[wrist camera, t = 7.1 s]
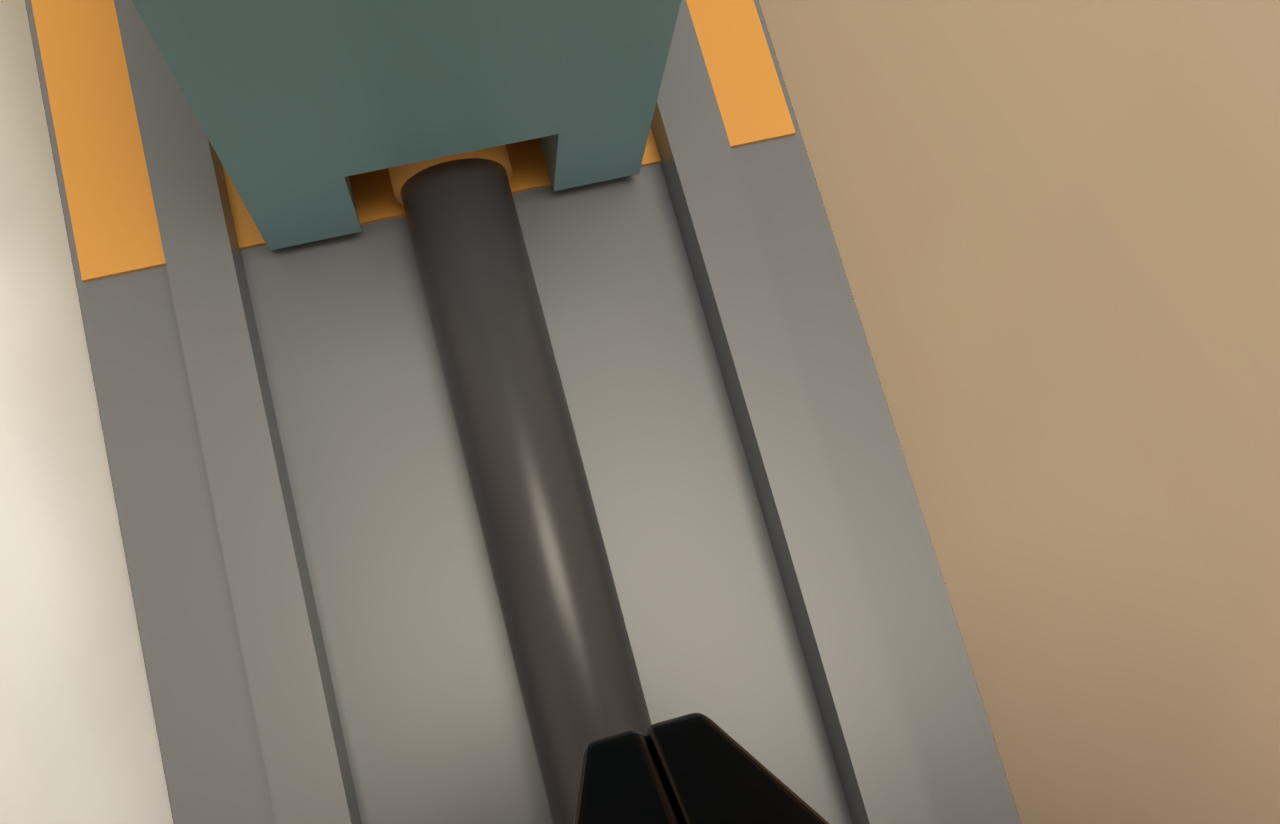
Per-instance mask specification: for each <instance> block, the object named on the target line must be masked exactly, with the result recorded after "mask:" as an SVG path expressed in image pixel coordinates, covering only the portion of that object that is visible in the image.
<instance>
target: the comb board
mask: <svg viewBox="0 0 1280 824" xmlns="http://www.w3.org/2000/svg"><path fill="white" fill-rule="evenodd" d="M25 3H26V9H27V14H28V20H29V26H30V31H31V37H32V42H33V48H34V53H35V59H36V64H37V70H38V75H39V81H40V86H41V92H42V98H43V103H44V109H45V114H46V120H47V125H48V131H49V136H50V142H51V147H52V153H53V158H54V164H55V169H56V175H57V181H58V186H59V192H60V197H61V203H62V208H63V214H64V219H65V225H66V230H67V236H68V241H69V247H70V253H71V258H72V264H73V269H74V275H75V280H76V286H77V291H78V297H79V302H80V308H81V313H82V319H83V324H84V330H85V336H86V341H87V347H88V352H89V358H90V363H91V369H92V374H93V380H94V385H95V391H96V396H97V402H98V408H99V413H100V419H101V424H102V430H103V435H104V441H105V446H106V452H107V457H108V463H109V468H110V474H111V479H112V485H113V491H114V496H115V502H116V507H117V513H118V518H119V524H120V529H121V535H122V540H123V546H124V551H125V557H126V563H127V568H128V574H129V579H130V585H131V590H132V596H133V601H134V607H135V612H136V618H137V623H138V629H139V634H140V640H141V646H142V651H143V657H144V662H145V668H146V673H147V679H148V684H149V690H150V695H151V701H152V706H153V712H154V718H155V723H156V729H157V734H158V740H159V745H160V751H161V756H162V762H163V767H164V773H165V778H166V784H167V789H168V795H169V801H170V806H171V812H172V817H173V823H174V824H573V819H574V812H575V805H576V798H577V790H578V783H579V776H580V769H581V762H582V755H583V751H584V749H585V747H586V746H587V745H588V744H589V743H590V742H592V741H595V740H599V739H602V738H606V737H609V736H613V735H616V734H620V733H623V732H627V731H630V730H638V731H640V732H642V733H643V734H644V736H645V734H646V730H647V729H648V728H649V727H650V726H651V725H653V724H655V723H658V722H662V721H665V720H669V719H672V718H676V717H680V716H683V715H687V714H690V713H701V714H704V715H706V716H707V717H708V718H710V719H711V720H712V721H714V722H715V723H716V724H717V725H718V726H719V727H720V728H721V729H723V730H724V731H725V732H726V733H727V734H728V735H729V736H731V737H732V738H733V739H734V740H735V741H736V742H737V743H739V744H740V745H741V746H742V747H743V748H744V749H745V750H747V751H748V752H749V753H750V754H751V755H752V756H753V757H755V758H756V759H757V760H758V761H759V762H760V763H761V764H762V765H764V766H765V767H766V768H767V769H768V770H769V771H770V772H772V773H773V774H774V775H775V776H776V777H777V778H778V779H780V780H781V781H782V782H783V783H784V784H785V785H786V786H788V787H789V788H790V789H791V790H792V791H793V792H794V793H796V794H797V795H798V796H799V797H800V798H801V799H802V800H804V801H805V802H806V803H807V804H808V805H809V806H810V807H811V808H813V809H814V810H815V811H816V812H817V813H818V814H819V815H821V816H822V817H823V818H824V819H825V820H826V821H827V822H829V823H830V824H1021V821H1020V818H1019V815H1018V812H1017V809H1016V806H1015V803H1014V799H1013V796H1012V793H1011V790H1010V787H1009V784H1008V781H1007V778H1006V774H1005V771H1004V768H1003V765H1002V762H1001V759H1000V756H999V753H998V749H997V746H996V743H995V740H994V737H993V734H992V731H991V727H990V724H989V721H988V718H987V715H986V712H985V709H984V706H983V702H982V699H981V696H980V693H979V690H978V687H977V684H976V680H975V677H974V674H973V671H972V668H971V665H970V662H969V659H968V655H967V652H966V649H965V646H964V643H963V640H962V637H961V634H960V630H959V627H958V624H957V621H956V618H955V615H954V612H953V608H952V605H951V602H950V599H949V596H948V593H947V590H946V587H945V583H944V580H943V577H942V574H941V571H940V568H939V565H938V561H937V558H936V555H935V552H934V549H933V546H932V543H931V540H930V536H929V533H928V530H927V527H926V524H925V521H924V518H923V514H922V511H921V508H920V505H919V502H918V499H917V496H916V493H915V489H914V486H913V483H912V480H911V477H910V474H909V471H908V468H907V464H906V461H905V458H904V455H903V452H902V449H901V446H900V442H899V439H898V436H897V433H896V430H895V427H894V424H893V421H892V417H891V414H890V411H889V408H888V405H887V402H886V399H885V395H884V392H883V389H882V386H881V383H880V380H879V377H878V374H877V370H876V367H875V364H874V361H873V358H872V355H871V352H870V349H869V345H868V342H867V339H866V336H865V333H864V330H863V327H862V323H861V320H860V317H859V314H858V311H857V308H856V305H855V302H854V298H853V295H852V292H851V289H850V286H849V283H848V280H847V276H846V273H845V270H844V267H843V264H842V261H841V258H840V255H839V251H838V248H837V245H836V242H835V239H834V236H833V233H832V230H831V226H830V223H829V220H828V217H827V214H826V211H825V208H824V204H823V201H822V198H821V195H820V192H819V189H818V186H817V183H816V179H815V176H814V173H813V170H812V167H811V164H810V161H809V157H808V154H807V151H806V148H805V145H804V142H803V139H802V136H801V132H800V129H799V126H798V123H797V120H796V117H795V114H794V110H793V107H792V104H791V101H790V98H789V95H788V92H787V89H786V85H785V82H784V79H783V76H782V73H781V70H780V67H779V64H778V60H777V57H776V54H775V51H774V48H773V45H772V42H771V38H770V35H769V32H768V29H767V26H766V23H765V20H764V17H763V13H762V10H761V7H760V4H759V1H758V0H681V4H680V8H679V12H678V16H677V20H676V25H675V29H674V33H673V37H672V41H671V45H670V49H669V53H668V57H667V61H666V66H665V70H664V74H663V78H662V82H661V86H660V90H659V94H658V98H657V102H656V107H655V111H654V115H653V119H652V123H651V127H650V131H649V135H648V139H647V144H646V148H645V152H644V156H643V160H642V164H641V168H640V172H639V174H636V175H631V176H626V177H621V178H616V179H612V180H607V181H602V182H597V183H592V184H588V185H583V186H578V187H573V188H568V189H564V190H559V191H554V190H553V187H552V183H551V179H550V175H549V172H548V168H547V164H546V161H545V157H544V153H543V150H542V146H541V142H540V139H539V138H536V139H531V140H526V141H521V142H516V143H511V144H506V145H501V146H496V147H491V148H486V149H481V150H476V151H471V152H466V153H461V154H456V155H451V156H446V157H441V158H436V159H431V160H426V161H421V162H416V163H411V164H406V165H401V166H396V167H391V168H386V169H381V170H376V171H371V172H366V173H361V174H356V175H351V176H349V178H350V183H351V187H352V191H353V195H354V200H355V204H356V208H357V213H358V217H359V221H360V225H361V230H362V232H357V233H352V234H347V235H342V236H338V237H333V238H328V239H323V240H318V241H314V242H309V243H304V244H299V245H294V246H290V247H285V248H280V249H275V250H269V248H268V246H267V244H266V243H265V241H264V239H263V237H262V235H261V234H260V232H259V230H258V228H257V226H256V225H255V223H254V221H253V219H252V217H251V215H250V214H249V212H248V210H247V208H246V206H245V205H244V203H243V201H242V199H241V197H240V195H239V194H238V192H237V190H236V188H235V186H234V185H233V183H232V181H231V179H230V177H229V175H228V174H227V172H226V170H225V168H224V166H223V165H222V163H221V161H220V159H219V157H218V156H217V154H216V152H215V150H214V148H213V146H212V145H211V143H210V141H209V139H208V137H207V136H206V134H205V132H204V130H203V128H202V126H201V125H200V123H199V121H198V119H197V117H196V116H195V114H194V112H193V110H192V108H191V106H190V105H189V103H188V101H187V99H186V97H185V96H184V94H183V92H182V90H181V88H180V87H179V85H178V83H177V81H176V79H175V77H174V76H173V74H172V72H171V70H170V68H169V67H168V65H167V63H166V61H165V59H164V57H163V56H162V54H161V52H160V50H159V48H158V47H157V45H156V43H155V41H154V39H153V37H152V36H151V34H150V32H149V30H148V28H147V27H146V25H145V23H144V21H143V19H142V18H141V16H140V14H139V12H138V10H137V8H136V7H135V5H134V3H133V1H132V0H25Z"/></svg>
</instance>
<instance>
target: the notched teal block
mask: <svg viewBox="0 0 1280 824" xmlns="http://www.w3.org/2000/svg"><path fill="white" fill-rule="evenodd" d="M132 1H133V3H134V5H135V7H136V8H137V10H138V12H139V14H140V16H141V18H142V19H143V21H144V23H145V25H146V27H147V28H148V30H149V32H150V34H151V36H152V37H153V39H154V41H155V43H156V45H157V47H158V48H159V50H160V52H161V54H162V56H163V57H164V59H165V61H166V63H167V65H168V67H169V68H170V70H171V72H172V74H173V76H174V77H175V79H176V81H177V83H178V85H179V87H180V88H181V90H182V92H183V94H184V96H185V97H186V99H187V101H188V103H189V105H190V106H191V108H192V110H193V112H194V114H195V116H196V117H197V119H198V121H199V123H200V125H201V126H202V128H203V130H204V132H205V134H206V136H207V137H208V139H209V141H210V143H211V145H212V146H213V148H214V150H215V152H216V154H217V156H218V157H219V159H220V161H221V163H222V165H223V166H224V168H225V170H226V172H227V174H228V175H229V177H230V179H231V181H232V183H233V185H234V186H235V188H236V190H237V192H238V194H239V195H240V197H241V199H242V201H243V203H244V205H245V206H246V208H247V210H248V212H249V214H250V215H251V217H252V219H253V221H254V223H255V225H256V226H257V228H258V230H259V232H260V234H261V235H262V237H263V239H264V241H265V243H266V244H267V246H268V248H269V250H275V249H280V248H285V247H290V246H294V245H299V244H304V243H309V242H314V241H318V240H323V239H328V238H333V237H338V236H342V235H347V234H352V233H357V232H362V230H361V225H360V221H359V217H358V213H357V208H356V204H355V200H354V195H353V191H352V187H351V183H350V178H349V176H351V175H356V174H361V173H366V172H371V171H376V170H381V169H386V168H391V167H396V166H401V165H406V164H411V163H416V162H421V161H426V160H431V159H436V158H441V157H446V156H451V155H456V154H461V153H466V152H471V151H476V150H481V149H486V148H491V147H496V146H501V145H506V144H511V143H516V142H521V141H526V140H531V139H536V138H539V139H540V142H541V146H542V150H543V153H544V157H545V161H546V164H547V168H548V172H549V175H550V179H551V183H552V187H553V190H554V191H559V190H564V189H568V188H573V187H578V186H583V185H588V184H592V183H597V182H602V181H607V180H612V179H616V178H621V177H626V176H631V175H636V174H639V172H640V168H641V164H642V160H643V156H644V152H645V148H646V144H647V139H648V135H649V131H650V127H651V123H652V119H653V115H654V111H655V107H656V102H657V98H658V94H659V90H660V86H661V82H662V78H663V74H664V70H665V66H666V61H667V57H668V53H669V49H670V45H671V41H672V37H673V33H674V29H675V25H676V20H677V16H678V12H679V8H680V4H681V0H132Z"/></svg>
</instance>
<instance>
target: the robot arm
mask: <svg viewBox="0 0 1280 824" xmlns="http://www.w3.org/2000/svg"><path fill="white" fill-rule="evenodd" d="M573 824H830V823H829V822H827V821H826V820H825V819H824V818H823V817H822V816H821V815H819V814H818V813H817V812H816V811H815V810H814V809H813V808H811V807H810V806H809V805H808V804H807V803H806V802H805V801H804V800H802V799H801V798H800V797H799V796H798V795H797V794H796V793H794V792H793V791H792V790H791V789H790V788H789V787H788V786H786V785H785V784H784V783H783V782H782V781H781V780H780V779H778V778H777V777H776V776H775V775H774V774H773V773H772V772H770V771H769V770H768V769H767V768H766V767H765V766H764V765H762V764H761V763H760V762H759V761H758V760H757V759H756V758H755V757H753V756H752V755H751V754H750V753H749V752H748V751H747V750H745V749H744V748H743V747H742V746H741V745H740V744H739V743H737V742H736V741H735V740H734V739H733V738H732V737H731V736H729V735H728V734H727V733H726V732H725V731H724V730H723V729H721V728H720V727H719V726H718V725H717V724H716V723H715V722H714V721H712V720H711V719H710V718H708V717H707V716H706V715H704V714H701V713H690V714H687V715H683V716H680V717H676V718H672V719H669V720H665V721H662V722H658V723H655V724H653V725H651V726H650V727H649V728H648V729H647V730H646V734H645V736H644V734H643V733H642V732H640V731H638V730H630V731H627V732H623V733H620V734H616V735H613V736H609V737H606V738H602V739H599V740H595V741H592V742H590V743H589V744H588V745H587V746H586V747H585V749H584V751H583V755H582V762H581V769H580V776H579V783H578V790H577V798H576V805H575V812H574V819H573Z"/></svg>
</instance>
